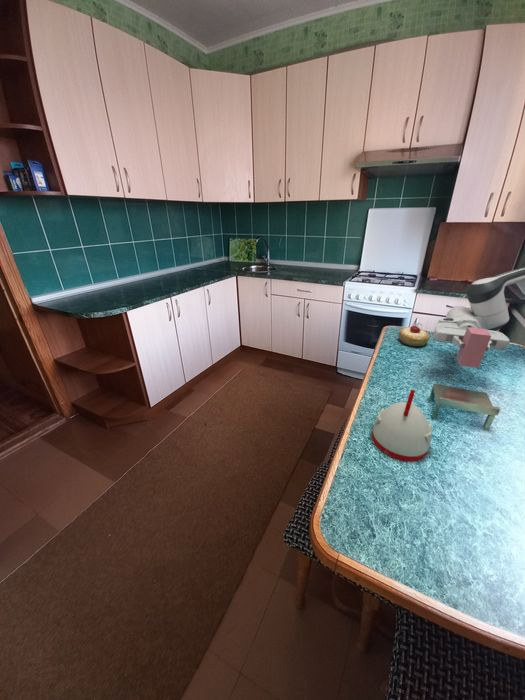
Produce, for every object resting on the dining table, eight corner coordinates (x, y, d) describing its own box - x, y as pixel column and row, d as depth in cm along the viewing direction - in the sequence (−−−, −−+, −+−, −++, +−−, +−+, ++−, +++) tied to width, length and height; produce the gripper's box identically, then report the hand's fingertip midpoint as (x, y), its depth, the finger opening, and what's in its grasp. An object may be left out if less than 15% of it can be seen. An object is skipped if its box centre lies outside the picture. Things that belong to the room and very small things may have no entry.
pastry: (392, 341, 131) (395, 322, 127) (407, 334, 137) (411, 317, 133) (417, 351, 122) (422, 331, 118) (432, 343, 128) (437, 325, 124)
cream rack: (480, 408, 88) (489, 387, 85) (489, 432, 79) (500, 409, 76) (428, 398, 93) (435, 377, 89) (432, 420, 84) (439, 398, 80)
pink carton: (473, 360, 93) (486, 329, 88) (478, 368, 89) (491, 335, 84) (456, 358, 94) (467, 327, 89) (459, 365, 90) (471, 333, 85)
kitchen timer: (431, 434, 79) (446, 389, 72) (424, 470, 69) (441, 421, 62) (378, 416, 86) (387, 374, 79) (365, 446, 76) (374, 400, 69)
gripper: (498, 342, 97) (511, 362, 86) (429, 334, 104) (433, 351, 93) (505, 325, 94) (519, 343, 83) (434, 317, 101) (439, 333, 90)
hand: (473, 347), depth 88 cm, fingers closed on pink carton, 5 cm apart
